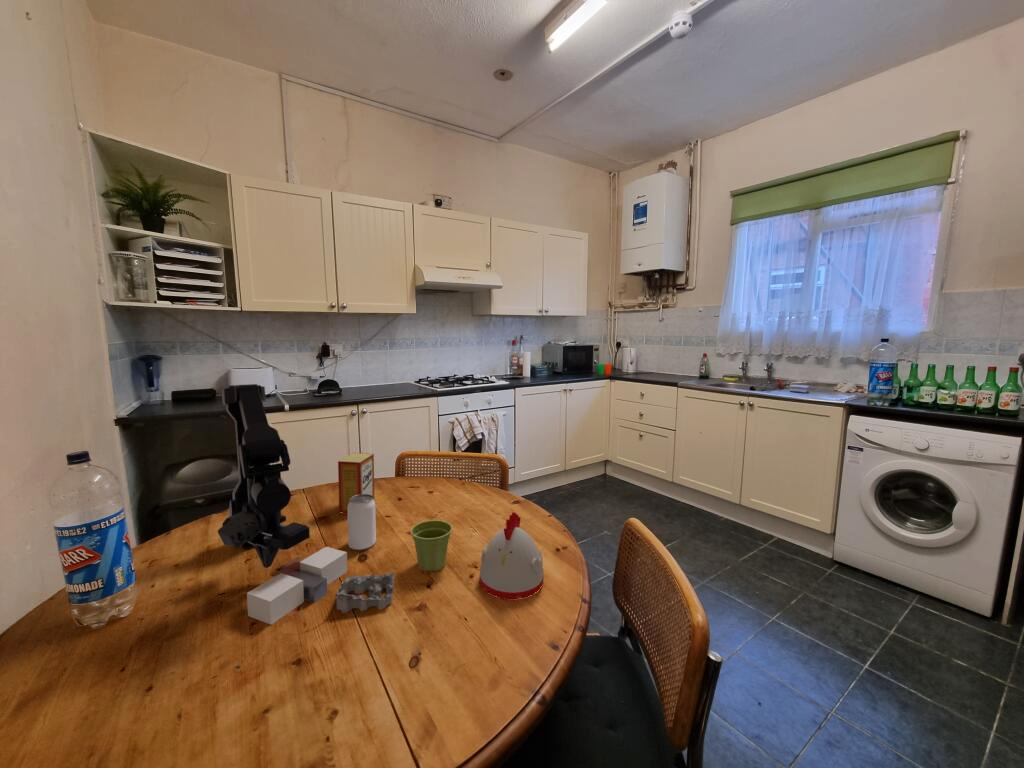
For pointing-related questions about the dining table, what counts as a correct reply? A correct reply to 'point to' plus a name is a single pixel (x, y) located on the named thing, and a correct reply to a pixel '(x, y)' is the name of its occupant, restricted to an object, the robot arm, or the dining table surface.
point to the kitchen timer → (511, 563)
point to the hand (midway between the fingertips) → (267, 566)
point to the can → (361, 522)
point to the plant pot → (431, 543)
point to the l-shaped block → (305, 580)
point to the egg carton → (360, 586)
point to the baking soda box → (355, 477)
